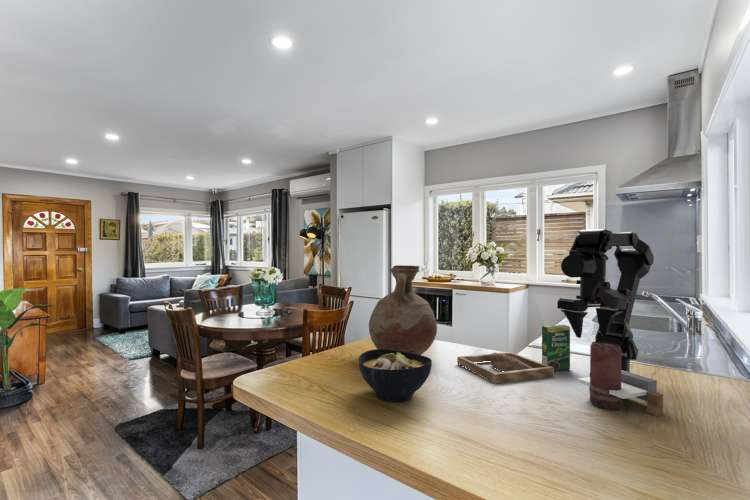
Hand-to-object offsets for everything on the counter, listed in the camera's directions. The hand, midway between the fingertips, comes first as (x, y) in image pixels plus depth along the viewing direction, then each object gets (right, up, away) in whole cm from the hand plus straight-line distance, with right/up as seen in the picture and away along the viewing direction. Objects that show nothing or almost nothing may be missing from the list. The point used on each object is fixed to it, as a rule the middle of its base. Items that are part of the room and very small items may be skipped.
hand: (591, 336), depth 98 cm
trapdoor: (0, -11, -11) cm, 16 cm away
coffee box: (-3, -13, +14) cm, 19 cm away
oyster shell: (-16, -13, +13) cm, 25 cm away
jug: (-48, -12, +21) cm, 54 cm away
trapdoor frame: (+1, -13, -10) cm, 17 cm away
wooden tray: (-19, -13, +12) cm, 26 cm away
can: (-4, -13, -12) cm, 19 cm away
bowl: (-52, -12, -10) cm, 55 cm away
